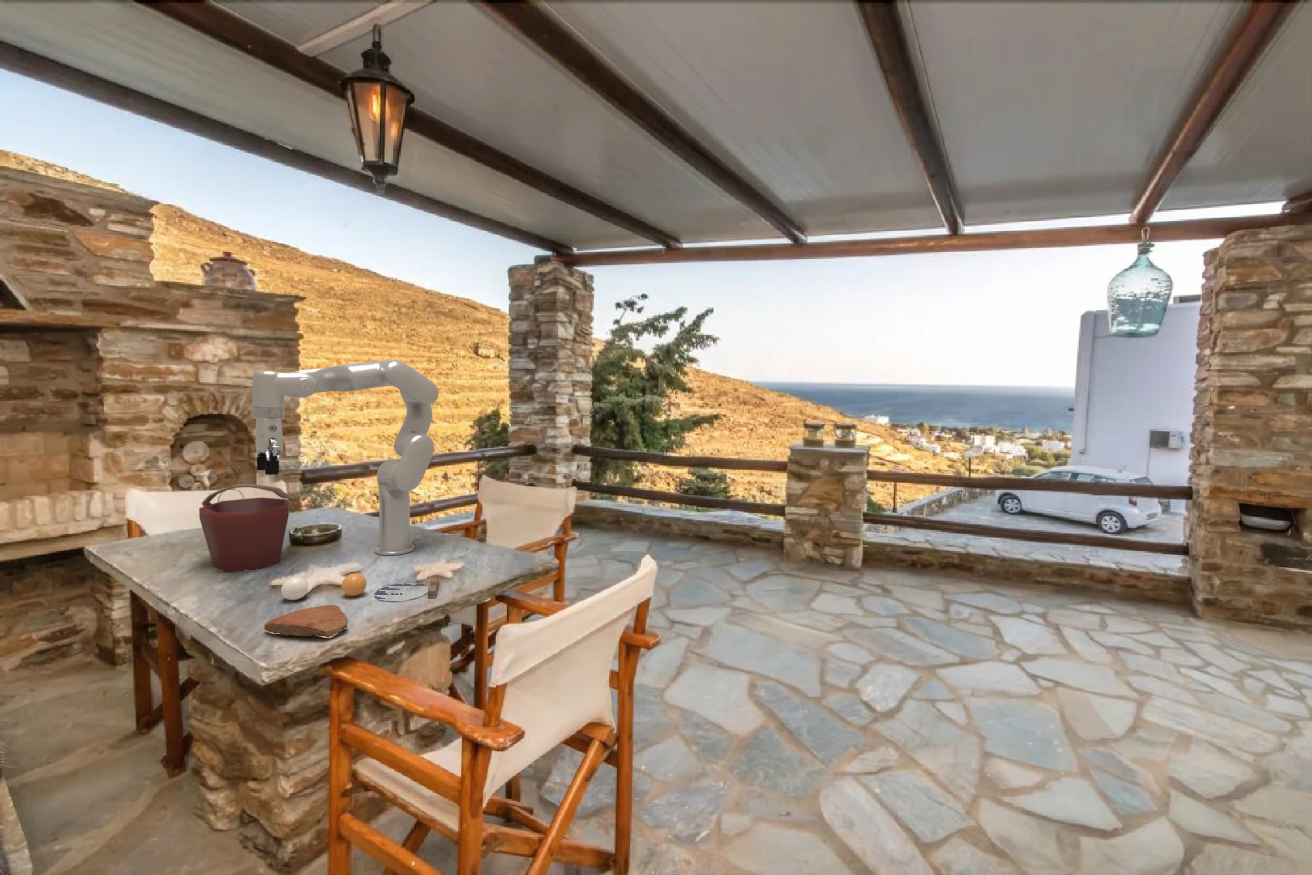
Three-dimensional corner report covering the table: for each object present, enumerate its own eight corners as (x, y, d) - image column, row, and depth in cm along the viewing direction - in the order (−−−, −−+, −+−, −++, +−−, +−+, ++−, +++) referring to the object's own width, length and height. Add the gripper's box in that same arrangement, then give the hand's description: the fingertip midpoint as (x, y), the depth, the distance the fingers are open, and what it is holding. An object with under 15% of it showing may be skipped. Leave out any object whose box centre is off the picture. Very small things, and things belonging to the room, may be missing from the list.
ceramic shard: (283, 631, 116) (261, 620, 125) (289, 659, 116) (267, 646, 126) (355, 603, 127) (330, 594, 137) (360, 629, 128) (335, 619, 137)
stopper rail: (431, 582, 160) (431, 576, 160) (438, 582, 160) (438, 575, 160) (427, 598, 148) (427, 591, 148) (435, 597, 149) (435, 590, 149)
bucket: (311, 556, 179) (310, 481, 176) (255, 579, 157) (253, 494, 154) (242, 550, 181) (240, 476, 179) (178, 572, 159) (175, 488, 157)
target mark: (407, 579, 161) (407, 579, 161) (440, 589, 155) (440, 588, 155) (362, 594, 149) (362, 594, 149) (397, 606, 143) (397, 605, 143)
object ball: (357, 589, 152) (357, 568, 152) (371, 594, 150) (371, 573, 149) (336, 596, 147) (336, 575, 146) (350, 601, 144) (350, 579, 144)
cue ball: (300, 593, 148) (299, 571, 147) (313, 598, 145) (313, 576, 145) (276, 600, 143) (276, 578, 142) (289, 605, 140) (289, 582, 139)
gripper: (292, 415, 154) (291, 475, 155) (275, 412, 166) (275, 467, 167) (260, 415, 148) (259, 477, 150) (245, 411, 160) (244, 468, 161)
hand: (267, 472), depth 158 cm, fingers open, 9 cm apart
